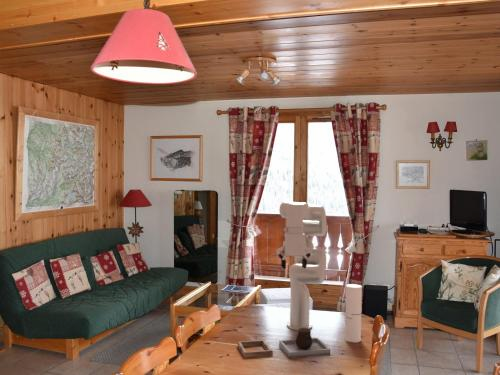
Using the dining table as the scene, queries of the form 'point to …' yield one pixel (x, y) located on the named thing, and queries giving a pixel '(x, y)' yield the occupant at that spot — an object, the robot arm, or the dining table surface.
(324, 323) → the dining table surface
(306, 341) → the mate gourd
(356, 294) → the cylindrical container
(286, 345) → the tray
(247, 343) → the tray
